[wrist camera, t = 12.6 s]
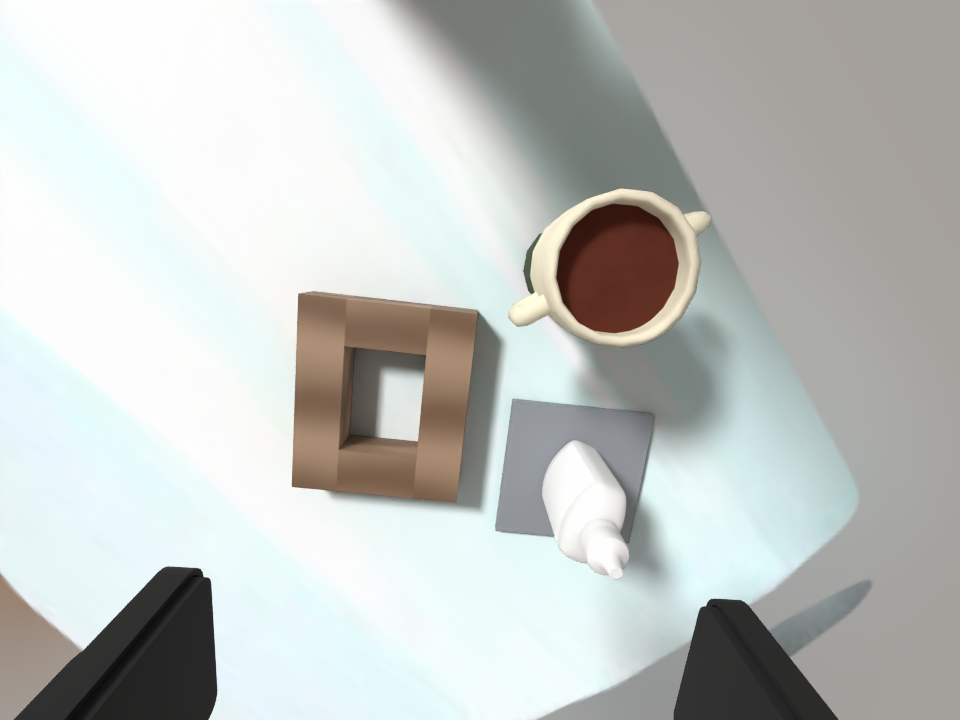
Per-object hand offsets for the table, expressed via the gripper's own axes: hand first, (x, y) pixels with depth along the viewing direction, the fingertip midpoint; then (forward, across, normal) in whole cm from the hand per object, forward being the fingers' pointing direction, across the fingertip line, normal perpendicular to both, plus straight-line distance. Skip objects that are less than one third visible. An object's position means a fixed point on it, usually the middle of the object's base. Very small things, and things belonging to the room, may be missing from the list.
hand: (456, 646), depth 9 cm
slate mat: (+26, -9, +9) cm, 29 cm away
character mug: (+26, -7, -7) cm, 28 cm away
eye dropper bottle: (+25, -9, +9) cm, 28 cm away
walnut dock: (+26, +6, +4) cm, 27 cm away
